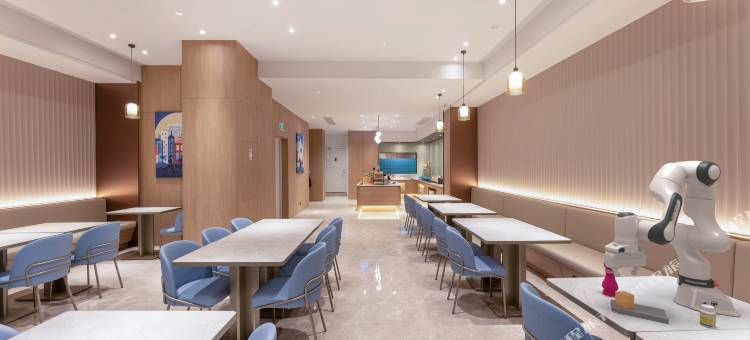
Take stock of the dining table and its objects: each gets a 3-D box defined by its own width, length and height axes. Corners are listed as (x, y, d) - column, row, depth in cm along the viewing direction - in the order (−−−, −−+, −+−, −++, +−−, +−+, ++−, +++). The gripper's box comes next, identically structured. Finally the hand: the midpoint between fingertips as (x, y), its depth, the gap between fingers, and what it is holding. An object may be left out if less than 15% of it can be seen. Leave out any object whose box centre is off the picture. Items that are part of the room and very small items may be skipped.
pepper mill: (621, 298, 168) (622, 259, 167) (605, 296, 169) (606, 258, 169) (613, 292, 175) (614, 255, 174) (598, 291, 176) (599, 255, 176)
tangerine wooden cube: (623, 303, 156) (624, 290, 156) (633, 307, 151) (634, 295, 151) (615, 303, 155) (615, 291, 155) (624, 308, 150) (625, 295, 150)
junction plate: (663, 313, 150) (664, 298, 150) (668, 324, 140) (669, 307, 140) (610, 302, 161) (610, 289, 161) (611, 311, 151) (611, 296, 151)
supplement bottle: (707, 323, 141) (707, 303, 141) (718, 328, 137) (719, 308, 137) (696, 323, 141) (696, 303, 141) (707, 328, 137) (708, 308, 137)
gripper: (637, 244, 158) (637, 272, 158) (601, 246, 154) (601, 275, 155) (650, 247, 152) (650, 276, 152) (613, 249, 148) (613, 279, 148)
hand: (625, 275), depth 153 cm, fingers open, 8 cm apart
